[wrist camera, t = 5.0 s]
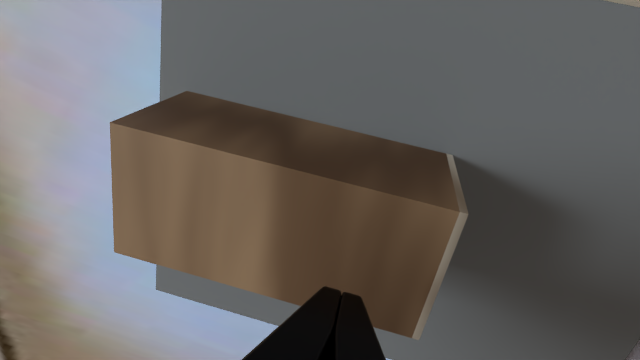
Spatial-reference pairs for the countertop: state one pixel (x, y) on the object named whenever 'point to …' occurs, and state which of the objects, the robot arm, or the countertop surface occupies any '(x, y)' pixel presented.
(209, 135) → the walnut block
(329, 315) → the robot arm
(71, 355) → the countertop surface
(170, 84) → the mat
